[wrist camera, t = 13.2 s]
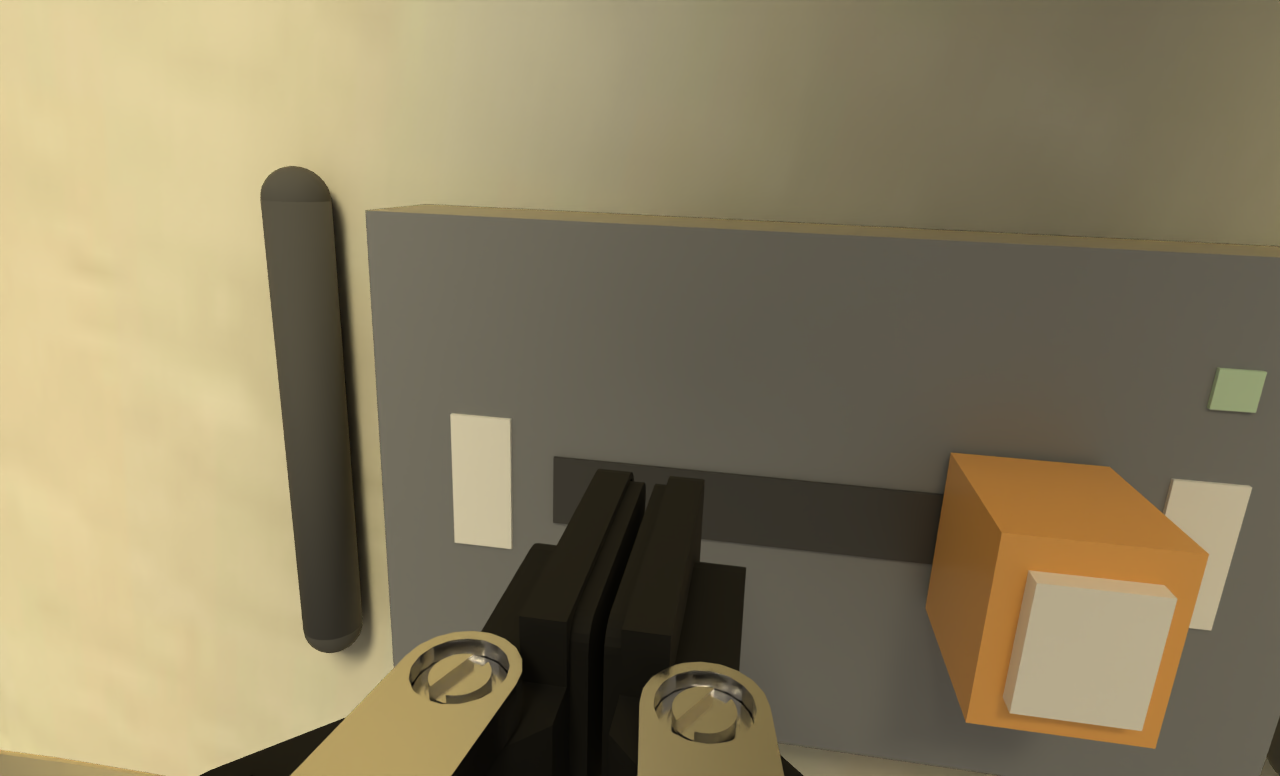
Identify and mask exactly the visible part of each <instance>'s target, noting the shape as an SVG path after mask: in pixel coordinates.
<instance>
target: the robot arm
mask: <svg viewBox="0 0 1280 776" xmlns="http://www.w3.org/2000/svg"><path fill="white" fill-rule="evenodd" d="M704 488H705V480H704V479H697V478H687V477H677V476H669V479H668V482H667V485H665V484H655V485H654V488H653V491H652V494H651V497H650V499H649V502H648V505H647V508H646V511H645V501H646V485H645V482H635V481H634V475H633V472H627V471H617V470H607V469H598V470H597V471H596V473H595V475H594V476H593V478H592V480H591V482H590V484H589V486H588V488H587V490H586V491H585V493H584V495H583V497H582V499H581V501H580V503H579V505H578V506H577V508H576V510H575V512H574V514H573V516H572V518H571V519H570V521H569V523H568V525H567V527H566V529H565V531H564V533H563V534H562V536H561V538H560V540H559V542H558V544H557V545H552V544H543V543H534V545H533V546H532V547H531V548H530V550H529V552H528V553H527V555H526V557H525V558H524V560H523V562H522V563H521V565H520V567H519V568H518V570H517V572H516V573H515V575H514V577H513V579H512V580H511V582H510V584H509V585H508V587H507V589H506V590H505V592H504V594H503V595H502V597H501V599H500V600H499V602H498V604H497V605H496V607H495V609H494V610H493V612H492V614H491V616H490V617H489V619H488V621H487V622H486V624H485V626H484V627H483V629H482V631H481V632H478V631H464V632H453V633H449V634H445V635H441V636H437V637H435V638H433V639H430V640H428V641H426V642H424V643H422V644H420V645H419V646H417V647H416V648H415V649H413V650H412V651H411V652H410V653H408V654H407V655H406V656H405V657H404V658H403V659H402V660H401V661H400V662H399V663H398V664H397V665H396V666H395V667H394V668H393V669H392V670H391V672H390V673H389V674H388V675H387V676H386V677H385V678H384V679H383V680H382V681H381V682H380V683H379V684H378V685H377V686H376V687H375V688H374V689H373V690H372V691H371V692H370V693H369V694H368V695H367V696H366V697H365V698H364V700H363V701H362V702H361V703H360V704H359V705H358V706H357V707H356V708H355V709H354V710H353V711H352V712H351V713H350V714H349V715H348V716H347V717H346V718H343V719H341V720H338V721H335V722H333V723H330V724H328V725H325V726H323V727H320V728H317V729H315V730H312V731H310V732H307V733H305V734H302V735H300V736H297V737H294V738H292V739H289V740H287V741H284V742H282V743H279V744H276V745H274V746H271V747H269V748H266V749H264V750H261V751H258V752H256V753H253V754H251V755H248V756H246V757H243V758H240V759H238V760H235V761H233V762H230V763H228V764H225V765H222V766H220V767H217V768H215V769H212V770H210V771H208V772H206V773H204V774H202V775H200V776H803V775H802V774H801V773H800V772H799V771H798V770H797V769H795V768H794V767H793V766H792V765H791V764H790V763H789V762H788V761H786V760H785V759H784V758H783V757H782V756H781V755H780V752H779V748H778V743H777V738H776V733H775V728H774V723H773V718H772V713H771V708H770V705H769V703H768V700H767V698H766V696H765V693H764V692H763V691H762V690H761V689H760V688H759V686H758V685H757V684H756V683H755V682H754V681H753V680H751V679H750V678H748V677H747V676H745V675H744V674H742V673H741V672H739V668H740V653H741V638H742V623H743V608H744V594H745V579H746V567H741V566H732V565H724V564H715V563H707V562H700V552H701V536H702V520H703V505H704ZM0 776H164V775H158V774H152V773H146V772H140V771H134V770H128V769H122V768H117V767H111V766H105V765H99V764H93V763H87V762H81V761H75V760H69V759H63V758H58V757H50V756H43V755H35V754H27V753H20V752H12V751H4V750H0Z"/></svg>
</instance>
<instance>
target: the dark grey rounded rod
mask: <svg viewBox="0 0 1280 776" xmlns="http://www.w3.org/2000/svg"><path fill="white" fill-rule="evenodd" d="M261 209H262V219H263V229H264V239H265V249H266V259H267V269H268V279H269V289H270V299H271V309H272V319H273V329H274V339H275V349H276V359H277V369H278V379H279V389H280V399H281V409H282V419H283V429H284V440H285V450H286V460H287V470H288V480H289V490H290V500H291V510H292V520H293V530H294V540H295V550H296V560H297V570H298V580H299V590H300V600H301V610H302V620H303V630H304V634H305V638H306V640H307V641H308V643H309V644H310V645H311V646H312V647H313V648H315V649H316V650H318V651H321V652H326V653H335V652H339V651H342V650H344V649H346V648H347V647H349V646H350V645H351V644H352V643H353V642H354V641H355V640H356V639H357V637H358V636H359V634H360V631H361V628H362V620H363V619H362V605H361V592H360V578H359V565H358V551H357V538H356V524H355V511H354V497H353V484H352V470H351V457H350V443H349V430H348V416H347V403H346V389H345V376H344V362H343V349H342V335H341V322H340V308H339V295H338V281H337V268H336V255H335V241H334V228H333V214H332V201H331V195H330V192H329V189H328V187H327V186H326V184H325V182H324V181H323V180H322V179H321V178H320V177H319V176H318V175H316V174H315V173H314V172H312V171H310V170H308V169H305V168H302V167H296V166H289V167H284V168H280V169H278V170H276V171H274V172H273V173H271V174H270V175H269V176H268V177H267V179H266V180H265V181H264V183H263V186H262V189H261Z"/></svg>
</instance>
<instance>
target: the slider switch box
mask: <svg viewBox="0 0 1280 776" xmlns="http://www.w3.org/2000/svg"><path fill="white" fill-rule="evenodd" d="M365 211H366V228H367V244H368V260H369V276H370V292H371V308H372V324H373V340H374V356H375V372H376V388H377V404H378V421H379V437H380V453H381V469H382V485H383V501H384V517H385V533H386V549H387V565H388V581H389V597H390V614H391V630H392V646H393V662H394V667H395V666H396V665H397V664H398V663H399V662H400V661H401V660H402V659H403V658H404V657H405V656H406V655H407V654H408V653H410V652H411V651H412V650H413V649H415V648H416V647H417V646H419V645H420V644H422V643H424V642H426V641H428V640H430V639H433V638H435V637H437V636H441V635H445V634H449V633H453V632H464V631H478V632H481V631H482V629H483V627H484V626H485V624H486V622H487V621H488V619H489V617H490V616H491V614H492V612H493V610H494V609H495V607H496V605H497V604H498V602H499V600H500V599H501V597H502V595H503V594H504V592H505V590H506V589H507V587H508V585H509V584H510V582H511V580H512V579H513V577H514V575H515V573H516V572H517V570H518V568H519V567H520V565H521V563H522V562H523V560H524V558H525V557H526V555H527V553H528V552H529V550H530V548H531V547H532V546H533V545H534V543H543V544H552V545H557V544H558V542H559V540H560V538H561V536H562V534H563V533H564V531H565V529H566V527H567V525H568V523H569V521H570V519H571V518H572V516H573V514H574V512H575V510H576V508H577V506H578V505H579V503H580V501H581V499H582V497H583V495H584V493H585V491H586V490H587V488H588V486H589V484H590V482H591V480H592V478H593V476H594V475H595V473H596V471H597V470H598V469H607V470H617V471H627V472H633V475H634V481H635V482H645V485H646V501H645V511H646V508H647V505H648V502H649V499H650V497H651V494H652V491H653V488H654V485H655V484H665V485H667V482H668V479H669V476H677V477H687V478H697V479H704V480H705V488H704V505H703V520H702V536H701V552H700V562H707V563H715V564H724V565H732V566H741V567H746V579H745V594H744V608H743V623H742V638H741V653H740V668H739V672H741V673H742V674H744V675H745V676H747V677H748V678H750V679H751V680H753V681H754V682H755V683H756V684H757V685H758V686H759V688H760V689H761V690H762V691H763V692H764V693H765V696H766V698H767V700H768V703H769V705H770V708H771V713H772V718H773V723H774V728H775V733H776V738H777V743H782V744H789V745H796V746H802V747H809V748H816V749H823V750H830V751H836V752H843V753H850V754H857V755H864V756H871V757H877V758H884V759H891V760H898V761H905V762H911V763H918V764H925V765H932V766H939V767H946V768H952V769H959V770H966V771H973V772H980V773H986V774H993V775H1000V776H1260V775H1261V772H1262V769H1263V766H1264V763H1265V760H1266V757H1267V754H1268V751H1269V748H1270V745H1271V741H1272V738H1273V735H1274V732H1275V729H1276V726H1277V723H1278V720H1279V717H1280V246H1261V245H1240V244H1220V243H1200V242H1180V241H1159V240H1139V239H1119V238H1099V237H1079V236H1058V235H1038V234H1018V233H998V232H977V231H957V230H937V229H917V228H896V227H876V226H856V225H836V224H816V223H795V222H775V221H755V220H735V219H714V218H694V217H674V216H654V215H634V214H613V213H593V212H573V211H553V210H532V209H512V208H492V207H472V206H452V205H431V204H423V205H413V206H404V207H394V208H384V209H375V210H365ZM951 453H962V454H973V455H985V456H996V457H1007V458H1018V459H1029V460H1040V461H1051V462H1063V463H1074V464H1085V465H1096V466H1107V467H1110V468H1112V469H1113V470H1114V471H1115V472H1116V473H1117V474H1118V475H1120V476H1121V477H1122V478H1123V479H1124V480H1125V481H1126V482H1128V483H1129V484H1130V485H1131V486H1132V487H1133V488H1134V489H1136V490H1137V491H1138V492H1139V493H1140V494H1141V495H1142V496H1144V497H1145V498H1146V499H1147V500H1148V501H1149V502H1150V503H1151V504H1153V505H1154V506H1155V507H1156V508H1157V509H1158V510H1159V511H1161V512H1162V513H1163V514H1164V515H1165V516H1166V517H1167V518H1169V519H1170V520H1171V521H1172V522H1173V523H1174V524H1175V525H1177V526H1178V527H1179V528H1180V529H1181V530H1182V531H1183V532H1185V533H1186V534H1187V535H1188V536H1189V537H1190V538H1191V539H1192V540H1194V541H1195V542H1196V543H1197V544H1198V545H1199V546H1200V547H1202V548H1203V549H1204V550H1205V551H1206V552H1207V553H1208V554H1209V557H1208V560H1207V564H1206V568H1205V571H1204V575H1203V578H1202V582H1201V586H1200V589H1199V593H1198V596H1197V600H1196V604H1195V607H1194V611H1193V614H1192V618H1191V622H1190V625H1189V629H1188V633H1187V636H1186V640H1185V643H1184V647H1183V651H1182V654H1181V658H1180V661H1179V665H1178V669H1177V672H1176V676H1175V679H1174V683H1173V687H1172V690H1171V694H1170V698H1169V701H1168V705H1167V708H1166V712H1165V716H1164V719H1163V723H1162V726H1161V730H1160V734H1159V737H1158V741H1157V744H1156V748H1155V749H1153V748H1146V747H1139V746H1132V745H1124V744H1117V743H1110V742H1103V741H1095V740H1088V739H1081V738H1074V737H1066V736H1059V735H1052V734H1045V733H1037V732H1030V731H1023V730H1016V729H1008V728H1001V727H994V726H987V725H979V724H972V723H966V722H965V719H964V716H963V713H962V710H961V707H960V705H959V702H958V699H957V696H956V693H955V690H954V688H953V685H952V682H951V679H950V676H949V674H948V671H947V668H946V665H945V662H944V659H943V657H942V654H941V651H940V648H939V645H938V642H937V640H936V637H935V634H934V631H933V628H932V625H931V623H930V620H929V617H928V614H927V611H926V609H925V607H926V601H927V595H928V589H929V582H930V576H931V570H932V564H933V558H934V552H935V546H936V540H937V533H938V527H939V521H940V515H941V509H942V503H943V497H944V491H945V485H946V478H947V472H948V466H949V460H950V454H951Z"/></svg>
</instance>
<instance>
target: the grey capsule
mask: <svg viewBox="0 0 1280 776" xmlns="http://www.w3.org/2000/svg"><path fill="white" fill-rule="evenodd" d="M1267 757H1268V760H1269V762H1270V764H1271V765H1272V767H1273V768H1274V770H1275V771H1276V772H1277V773H1278V774H1279V775H1280V717H1279V720H1278V723H1277V726H1276V729H1275V732H1274V735H1273V738H1272V741H1271V745H1270V748H1269V751H1268V754H1267Z"/></svg>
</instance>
